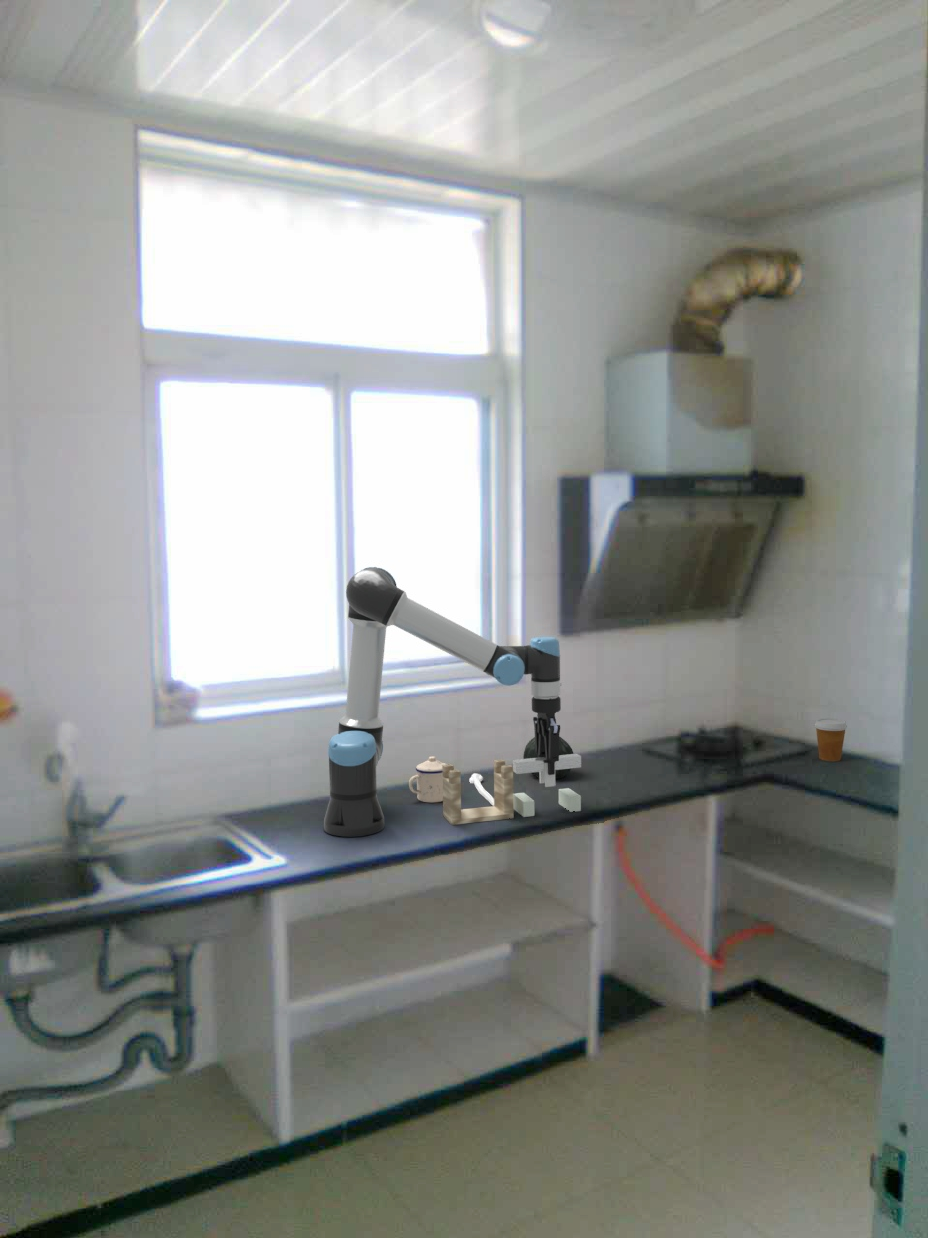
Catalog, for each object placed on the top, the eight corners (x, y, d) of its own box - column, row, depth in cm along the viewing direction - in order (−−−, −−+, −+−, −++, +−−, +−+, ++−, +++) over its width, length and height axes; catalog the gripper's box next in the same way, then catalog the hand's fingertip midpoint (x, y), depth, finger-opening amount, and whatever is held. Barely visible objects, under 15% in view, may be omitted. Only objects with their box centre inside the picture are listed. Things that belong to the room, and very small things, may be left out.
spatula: (507, 808, 265) (507, 797, 265) (492, 809, 264) (492, 798, 264) (481, 781, 292) (481, 771, 292) (467, 782, 291) (467, 772, 291)
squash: (559, 749, 306) (533, 717, 299) (590, 760, 293) (565, 728, 286) (531, 784, 301) (504, 753, 294) (562, 797, 289) (535, 765, 282)
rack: (451, 824, 250) (450, 772, 248) (443, 815, 257) (442, 765, 256) (513, 818, 254) (513, 766, 253) (503, 809, 262) (502, 759, 261)
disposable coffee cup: (815, 762, 307) (816, 724, 305) (812, 754, 316) (813, 717, 315) (848, 763, 304) (849, 725, 303) (843, 756, 314) (844, 718, 312)
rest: (523, 817, 255) (523, 802, 255) (513, 808, 263) (512, 793, 262) (580, 810, 260) (580, 796, 259) (568, 802, 268) (568, 788, 267)
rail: (517, 774, 256) (516, 762, 256) (513, 771, 259) (512, 760, 259) (581, 767, 261) (581, 756, 261) (576, 764, 264) (576, 753, 264)
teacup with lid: (438, 792, 280) (437, 751, 279) (455, 799, 272) (455, 757, 271) (401, 799, 273) (400, 757, 272) (418, 807, 266) (417, 764, 264)
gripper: (571, 700, 252) (572, 790, 254) (547, 690, 267) (549, 775, 269) (543, 702, 250) (545, 793, 252) (521, 692, 265) (523, 778, 267)
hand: (547, 784), depth 261 cm, fingers closed on rail, 3 cm apart
